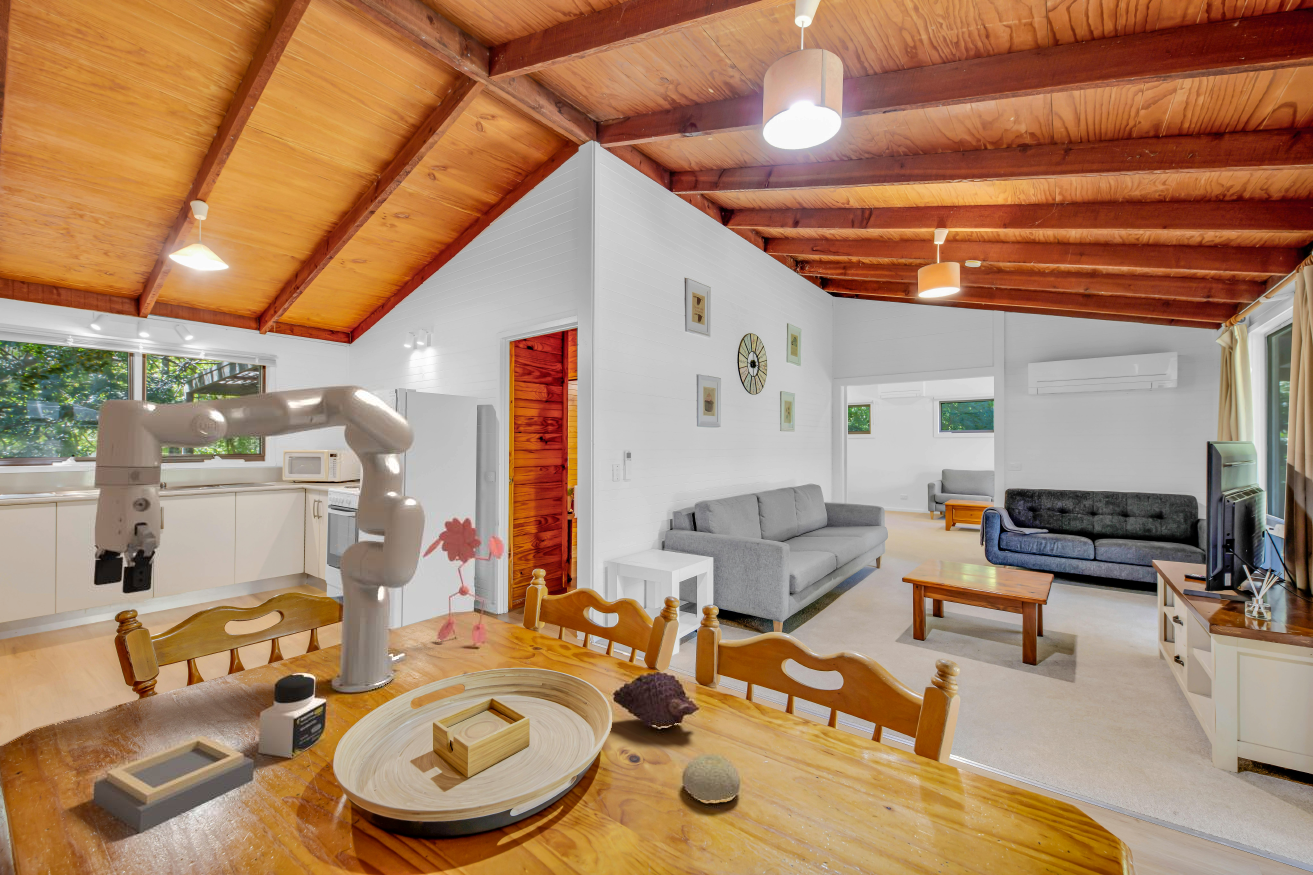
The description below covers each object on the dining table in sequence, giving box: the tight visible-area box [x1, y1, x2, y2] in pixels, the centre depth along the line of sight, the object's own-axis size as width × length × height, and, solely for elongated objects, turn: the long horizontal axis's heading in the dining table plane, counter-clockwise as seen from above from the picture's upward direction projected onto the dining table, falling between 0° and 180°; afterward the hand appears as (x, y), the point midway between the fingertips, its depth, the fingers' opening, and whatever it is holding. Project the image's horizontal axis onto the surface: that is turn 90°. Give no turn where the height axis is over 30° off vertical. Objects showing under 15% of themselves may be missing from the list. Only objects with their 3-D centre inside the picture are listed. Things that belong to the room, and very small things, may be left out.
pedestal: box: [92, 735, 255, 834], centre depth 84 cm, size 14×14×4 cm
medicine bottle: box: [257, 672, 327, 759], centre depth 98 cm, size 7×7×12 cm
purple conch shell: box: [612, 671, 700, 727], centre depth 109 cm, size 18×10×10 cm, turn 74°
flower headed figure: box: [422, 517, 505, 645], centre depth 148 cm, size 15×26×35 cm, turn 73°
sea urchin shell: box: [681, 752, 741, 801], centre depth 88 cm, size 9×8×8 cm
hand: (121, 587), depth 87 cm, fingers open, 9 cm apart
